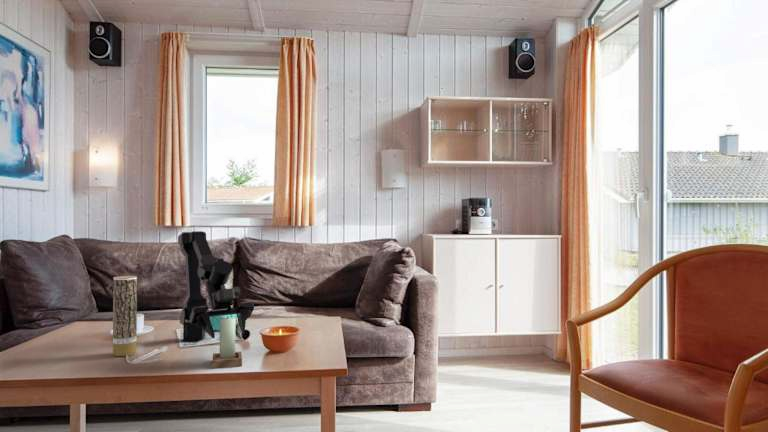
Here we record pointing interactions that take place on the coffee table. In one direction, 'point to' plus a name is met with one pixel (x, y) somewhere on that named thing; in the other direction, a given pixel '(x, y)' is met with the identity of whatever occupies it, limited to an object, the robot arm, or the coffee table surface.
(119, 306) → the wooden log cylinder
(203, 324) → the robot arm
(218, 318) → the decorative dice
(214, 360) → the holder
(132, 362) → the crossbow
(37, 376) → the coffee table surface
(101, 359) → the coffee table surface
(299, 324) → the coffee table surface
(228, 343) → the candle
